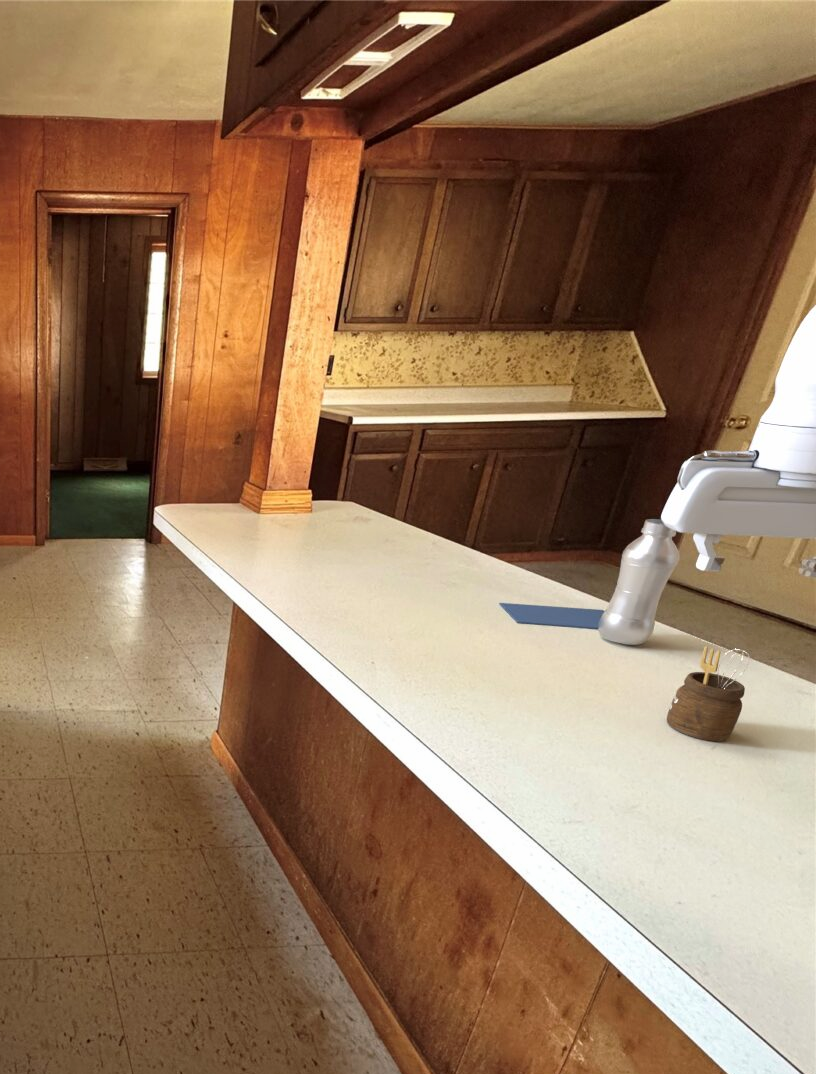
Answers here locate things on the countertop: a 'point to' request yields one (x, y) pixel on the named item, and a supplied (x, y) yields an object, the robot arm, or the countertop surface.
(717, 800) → the countertop surface
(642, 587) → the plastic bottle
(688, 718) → the utensil holder
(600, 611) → the mat
